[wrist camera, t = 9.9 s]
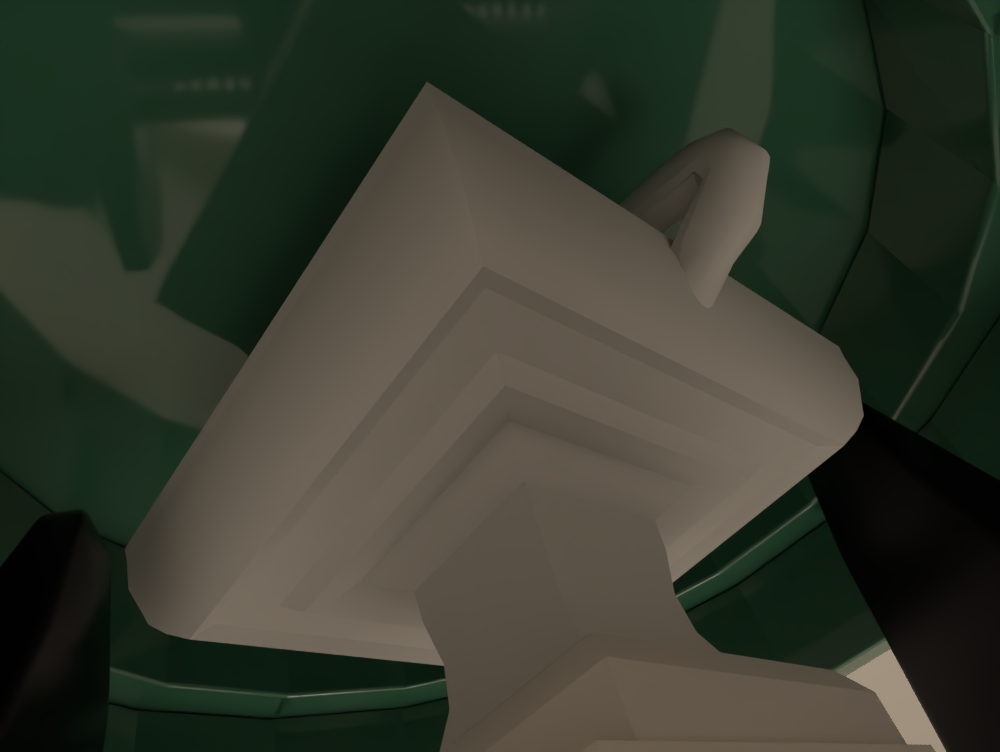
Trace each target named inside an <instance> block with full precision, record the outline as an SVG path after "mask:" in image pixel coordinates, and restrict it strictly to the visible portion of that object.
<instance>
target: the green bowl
mask: <svg viewBox="0 0 1000 752" xmlns="http://www.w3.org/2000/svg"><path fill="white" fill-rule="evenodd" d="M426 82H428V83H430V84H431V85H433V86H434V87H436V88H437V89H439V90H441V91H442V92H444V93H445V94H447V95H448V96H450V97H451V98H453V99H455V100H456V101H458V102H459V103H461V104H462V105H464V106H465V107H467V108H469V109H470V110H472V111H473V112H475V113H476V114H478V115H479V116H481V117H483V118H484V119H486V120H487V121H489V122H490V123H492V124H493V125H495V126H497V127H498V128H500V129H501V130H503V131H504V132H506V133H507V134H509V135H511V136H512V137H514V138H515V139H517V140H518V141H520V142H521V143H523V144H525V145H526V146H528V147H529V148H531V149H532V150H534V151H535V152H537V153H539V154H540V155H542V156H543V157H545V158H546V159H548V160H549V161H551V162H553V163H554V164H556V165H557V166H559V167H560V168H562V169H563V170H565V171H567V172H568V173H570V174H571V175H573V176H574V177H576V178H577V179H579V180H581V181H582V182H584V183H585V184H587V185H588V186H590V187H591V188H593V189H595V190H596V191H598V192H599V193H601V194H602V195H604V196H605V197H607V198H608V199H610V200H612V201H613V202H615V203H616V204H618V205H619V204H620V203H622V202H623V201H624V200H625V199H626V198H627V197H628V196H629V195H630V194H631V193H633V192H634V191H635V190H636V189H637V188H638V187H639V186H640V185H641V184H642V183H643V182H645V181H646V180H647V179H648V178H649V177H650V176H651V175H652V174H653V173H654V172H656V171H657V170H658V169H659V168H660V167H661V166H662V165H663V164H664V163H665V162H666V161H668V160H669V159H670V158H671V157H673V156H674V155H675V154H676V153H678V152H679V151H680V150H682V149H683V148H684V147H685V146H687V145H688V144H690V143H692V142H694V141H695V140H698V139H701V138H703V137H705V136H708V135H710V134H712V133H714V132H716V131H719V130H722V129H726V128H730V129H733V130H735V131H737V132H739V133H740V134H742V135H743V136H745V137H746V138H748V139H749V140H751V141H752V142H754V143H756V144H757V145H759V146H760V147H762V148H763V149H765V150H766V151H767V153H768V154H769V156H770V164H769V170H768V176H767V183H766V191H765V198H764V206H763V214H762V221H761V225H760V227H759V229H758V231H757V233H756V234H755V235H754V237H753V238H752V239H751V241H750V242H749V243H748V245H747V246H746V247H745V249H744V250H743V251H742V253H741V254H740V255H739V257H738V258H737V259H736V261H735V262H734V264H733V266H732V268H731V270H730V272H729V274H728V276H730V277H731V278H733V279H734V280H736V281H738V282H739V283H741V284H742V285H744V286H745V287H747V288H748V289H750V290H752V291H753V292H755V293H756V294H758V295H759V296H761V297H762V298H764V299H766V300H767V301H769V302H770V303H772V304H773V305H775V306H776V307H778V308H780V309H781V310H783V311H784V312H786V313H787V314H789V315H790V316H792V317H794V318H795V319H797V320H798V321H800V322H801V323H803V324H804V325H806V326H807V327H809V328H811V329H812V330H814V331H815V332H817V333H818V334H820V335H821V336H823V337H825V338H826V339H828V340H829V341H831V342H832V343H834V344H835V345H837V346H839V347H840V350H841V352H842V354H843V356H844V358H845V359H846V361H847V362H848V364H849V365H850V367H851V369H852V370H853V372H854V373H855V375H856V376H857V378H858V381H859V387H860V394H861V401H862V402H863V403H865V404H867V405H869V406H870V407H872V408H874V409H876V410H877V411H879V412H881V413H883V414H884V415H886V416H888V417H890V418H891V419H893V420H895V421H897V422H898V423H900V424H902V425H904V426H905V427H907V428H909V429H911V430H912V431H914V432H916V433H918V434H919V435H921V436H923V437H925V438H926V439H928V440H930V441H932V442H933V443H935V444H937V445H939V446H940V447H942V448H944V449H946V450H947V451H949V452H951V453H953V454H954V455H956V456H958V457H960V458H961V459H963V460H965V461H967V462H968V463H970V464H972V465H974V466H975V467H977V468H979V469H981V470H982V471H984V472H986V473H988V474H989V475H991V476H993V477H995V478H996V479H998V480H1000V0H0V567H1V565H2V564H3V563H4V561H5V560H6V559H7V558H8V556H9V555H10V554H11V552H12V551H13V550H14V549H15V547H16V546H17V545H18V543H19V542H20V541H21V540H22V538H23V537H24V536H25V534H26V533H27V532H28V531H29V529H30V528H31V527H32V525H33V524H34V523H35V522H36V521H37V520H38V519H39V518H40V517H42V516H43V515H45V514H49V513H55V512H62V511H68V510H75V509H82V510H84V511H86V512H87V513H88V514H89V516H90V517H91V519H92V521H93V523H94V525H95V527H96V529H97V531H98V533H99V535H100V537H101V539H102V541H103V543H104V545H105V547H106V549H107V552H108V555H109V558H110V565H111V618H110V689H109V709H108V719H107V728H106V735H105V742H104V750H103V752H440V748H441V744H442V740H443V735H444V731H445V727H446V723H447V718H448V714H449V710H450V709H449V701H448V693H447V685H446V677H445V668H444V666H442V665H432V664H422V663H413V662H403V661H393V660H384V659H374V658H364V657H355V656H345V655H335V654H326V653H316V652H306V651H297V650H287V649H277V648H268V647H258V646H248V645H239V644H229V643H219V642H210V641H200V640H190V639H186V638H181V637H177V636H173V635H169V634H165V633H163V632H162V631H160V630H158V629H156V628H154V627H152V626H150V625H149V624H148V622H147V621H146V619H145V617H144V615H143V614H142V612H141V610H140V608H139V607H138V605H137V603H136V601H135V600H134V598H133V596H132V594H131V593H130V591H129V589H128V573H127V558H126V554H125V547H126V546H127V544H128V543H129V541H130V540H131V538H132V537H133V535H134V534H135V532H136V530H137V529H138V527H139V526H140V524H141V523H142V521H143V520H144V518H145V517H146V515H147V513H148V512H149V510H150V509H151V507H152V506H153V504H154V503H155V501H156V499H157V498H158V496H159V495H160V493H161V492H162V490H163V489H164V487H165V486H166V484H167V482H168V481H169V479H170V478H171V476H172V475H173V473H174V472H175V470H176V469H177V467H178V465H179V464H180V462H181V461H182V459H183V458H184V456H185V455H186V453H187V452H188V450H189V448H190V447H191V445H192V444H193V442H194V441H195V439H196V438H197V436H198V435H199V433H200V431H201V430H202V428H203V427H204V425H205V424H206V422H207V421H208V419H209V418H210V416H211V414H212V413H213V411H214V410H215V408H216V407H217V405H218V404H219V402H220V401H221V399H222V397H223V396H224V394H225V393H226V391H227V390H228V388H229V387H230V385H231V384H232V382H233V380H234V379H235V377H236V376H237V374H238V373H239V371H240V370H241V368H242V367H243V365H244V363H245V362H246V360H247V359H248V357H249V356H250V354H251V353H252V351H253V350H254V348H255V346H256V345H257V343H258V342H259V340H260V339H261V337H262V336H263V334H264V333H265V331H266V329H267V328H268V326H269V325H270V323H271V322H272V320H273V319H274V317H275V316H276V314H277V312H278V311H279V309H280V308H281V306H282V305H283V303H284V302H285V300H286V299H287V297H288V295H289V294H290V292H291V291H292V289H293V288H294V286H295V285H296V283H297V282H298V280H299V278H300V277H301V275H302V274H303V272H304V271H305V269H306V268H307V266H308V265H309V263H310V261H311V260H312V258H313V257H314V255H315V254H316V252H317V251H318V249H319V248H320V246H321V244H322V243H323V241H324V240H325V238H326V237H327V235H328V234H329V232H330V231H331V229H332V227H333V226H334V224H335V223H336V221H337V220H338V218H339V217H340V215H341V214H342V212H343V210H344V209H345V207H346V206H347V204H348V203H349V201H350V200H351V198H352V197H353V195H354V193H355V192H356V190H357V189H358V187H359V186H360V184H361V183H362V181H363V180H364V178H365V176H366V175H367V173H368V172H369V170H370V169H371V167H372V166H373V164H374V163H375V161H376V159H377V158H378V156H379V155H380V153H381V152H382V150H383V149H384V147H385V146H386V144H387V142H388V141H389V139H390V138H391V136H392V135H393V133H394V132H395V130H396V129H397V127H398V125H399V124H400V122H401V121H402V119H403V118H404V116H405V115H406V113H407V112H408V110H409V108H410V107H411V105H412V104H413V102H414V101H415V99H416V98H417V96H418V95H419V93H420V91H421V90H422V88H423V87H424V85H425V84H426ZM683 220H684V219H682V220H680V221H678V222H676V223H675V224H673V225H671V226H670V227H669V228H668V229H667V230H666V231H665V232H664V233H663V234H664V235H666V236H668V237H669V238H671V239H672V240H675V237H676V235H677V233H678V231H679V229H680V227H681V225H682V222H683ZM673 588H674V593H675V595H676V597H677V599H678V601H679V602H680V604H681V606H682V608H683V609H684V611H685V613H686V614H687V616H688V618H689V620H690V621H691V623H692V625H693V627H694V628H695V630H696V632H697V633H698V634H700V635H701V636H702V637H703V638H704V639H705V640H707V641H708V642H709V643H710V644H711V645H712V646H713V647H715V648H716V649H717V650H718V651H719V652H721V653H727V654H733V655H740V656H746V657H752V658H759V659H765V660H772V661H778V662H784V663H791V664H797V665H803V666H810V667H816V668H823V669H829V670H834V671H836V672H838V673H839V674H841V675H843V676H847V675H848V674H850V673H851V672H853V671H855V670H856V669H858V668H859V667H861V666H863V665H865V664H866V663H868V662H869V661H871V660H873V659H874V658H876V657H878V656H879V655H881V654H883V653H884V652H886V651H888V650H889V649H891V648H890V646H889V644H888V642H887V640H886V639H885V637H884V635H883V633H882V631H881V629H880V627H879V626H878V624H877V622H876V620H875V618H874V616H873V614H872V613H871V611H870V609H869V607H868V605H867V603H866V601H865V600H864V598H863V596H862V594H861V592H860V590H859V588H858V587H857V585H856V583H855V581H854V579H853V577H852V575H851V574H850V572H849V570H848V568H847V566H846V564H845V562H844V560H843V558H842V556H841V554H840V552H839V549H838V547H837V545H836V543H835V540H834V538H833V536H832V533H831V531H830V529H829V526H828V524H827V521H826V519H825V516H824V514H823V512H822V509H821V507H820V504H819V502H818V500H817V497H816V495H815V492H814V490H813V487H812V485H811V483H810V480H809V478H808V475H807V476H805V477H804V478H803V479H802V480H800V481H799V482H798V483H797V484H795V485H794V486H793V487H792V488H790V489H789V490H788V491H787V492H785V493H784V494H783V495H782V496H780V497H779V498H778V499H777V500H775V501H774V502H773V503H772V504H770V505H769V506H768V507H767V508H765V509H764V510H763V511H762V512H760V513H759V514H758V515H757V516H755V517H754V518H753V519H752V520H750V521H749V522H748V523H747V524H745V525H744V526H743V527H742V528H740V529H739V530H738V531H737V532H735V533H734V534H733V535H732V536H730V537H729V538H728V539H727V540H725V541H724V542H723V543H722V544H720V545H719V546H718V547H717V548H715V549H714V550H713V551H712V552H710V553H709V554H708V555H707V556H705V557H704V558H703V559H702V560H700V561H699V562H698V563H697V564H695V565H694V566H693V567H692V568H690V569H689V570H688V571H687V572H685V573H684V574H683V575H682V576H680V577H679V578H678V579H677V580H675V581H674V582H673Z"/></svg>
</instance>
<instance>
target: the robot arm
mask: <svg viewBox="0 0 1000 752" xmlns="http://www.w3.org/2000/svg"><path fill="white" fill-rule="evenodd" d="M862 408H863V414H864V416H863V418H862V421H861V423H860V425H859V427H858V429H857V431H856V432H855V433H854V434H853V436H852V437H851V438H850V439H849V440H848V442H847V443H846V444H845V445H844V446H843V447H842V448H840V449H839V450H838V451H837V452H835V453H834V454H833V455H832V456H830V457H829V458H828V459H827V460H825V461H824V462H823V463H822V464H820V465H819V466H818V467H817V468H815V469H814V470H813V471H812V472H810V473H809V474H808V478H809V480H810V483H811V485H812V487H813V490H814V492H815V495H816V497H817V500H818V502H819V504H820V507H821V509H822V512H823V514H824V516H825V519H826V521H827V524H828V526H829V529H830V531H831V533H832V536H833V538H834V540H835V543H836V545H837V547H838V549H839V552H840V554H841V556H842V558H843V560H844V562H845V564H846V566H847V568H848V570H849V572H850V574H851V575H852V577H853V579H854V581H855V583H856V585H857V587H858V588H859V590H860V592H861V594H862V596H863V598H864V600H865V601H866V603H867V605H868V607H869V609H870V611H871V613H872V614H873V616H874V618H875V620H876V622H877V624H878V626H879V627H880V629H881V631H882V633H883V635H884V637H885V639H886V640H887V642H888V644H889V646H890V648H891V650H892V652H893V653H894V655H895V657H896V659H897V661H898V662H899V664H900V666H901V668H902V670H903V671H904V674H905V676H906V678H907V679H908V681H909V683H910V685H911V687H912V689H913V691H914V692H915V694H916V696H917V698H918V700H919V702H920V703H921V705H922V707H923V709H924V711H925V713H926V714H927V716H928V718H929V720H930V722H931V724H932V725H933V727H934V729H935V731H936V733H937V735H938V737H939V739H940V741H941V742H942V744H943V746H944V748H945V750H946V752H1000V480H998V479H996V478H995V477H993V476H991V475H989V474H988V473H986V472H984V471H982V470H981V469H979V468H977V467H975V466H974V465H972V464H970V463H968V462H967V461H965V460H963V459H961V458H960V457H958V456H956V455H954V454H953V453H951V452H949V451H947V450H946V449H944V448H942V447H940V446H939V445H937V444H935V443H933V442H932V441H930V440H928V439H926V438H925V437H923V436H921V435H919V434H918V433H916V432H914V431H912V430H911V429H909V428H907V427H905V426H904V425H902V424H900V423H898V422H897V421H895V420H893V419H891V418H890V417H888V416H886V415H884V414H883V413H881V412H879V411H877V410H876V409H874V408H872V407H870V406H869V405H867V404H865V403H863V402H862ZM110 618H111V565H110V558H109V555H108V552H107V549H106V547H105V545H104V543H103V541H102V539H101V537H100V535H99V533H98V531H97V529H96V527H95V525H94V523H93V521H92V519H91V517H90V516H89V514H88V513H87V512H86V511H84V510H82V509H75V510H68V511H62V512H55V513H49V514H45V515H43V516H42V517H40V518H39V519H38V520H37V521H36V522H35V523H34V524H33V525H32V527H31V528H30V529H29V531H28V532H27V533H26V534H25V536H24V537H23V538H22V540H21V541H20V542H19V543H18V545H17V546H16V547H15V549H14V550H13V551H12V552H11V554H10V555H9V556H8V558H7V559H6V560H5V561H4V563H3V564H2V565H1V567H0V752H103V750H104V742H105V735H106V728H107V719H108V709H109V689H110Z"/></svg>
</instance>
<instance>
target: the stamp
mask: <svg viewBox="0 0 1000 752" xmlns="http://www.w3.org/2000/svg"><path fill="white" fill-rule="evenodd" d="M769 164H770V156H769V154H768V153H767V151H766V150H765V149H763V148H762V147H760V146H759V145H757V144H756V143H754V142H752V141H751V140H749V139H748V138H746V137H745V136H743V135H742V134H740V133H739V132H737V131H735V130H733V129H730V128H726V129H722V130H719V131H716V132H714V133H712V134H710V135H708V136H705V137H703V138H701V139H698V140H695V141H694V142H692V143H690V144H688V145H687V146H685V147H684V148H683V149H682V150H680V151H679V152H678V153H676V154H675V155H674V156H673V157H671V158H670V159H669V160H668V161H666V162H665V163H664V164H663V165H662V166H661V167H660V168H659V169H658V170H657V171H656V172H654V173H653V174H652V175H651V176H650V177H649V178H648V179H647V180H646V181H645V182H643V183H642V184H641V185H640V186H639V187H638V188H637V189H636V190H635V191H634V192H633V193H631V194H630V195H629V196H628V197H627V198H626V199H625V200H624V201H623V202H622V203H620V204H619V205H618V204H616V203H615V202H613V201H612V200H610V199H608V198H607V197H605V196H604V195H602V194H601V193H599V192H598V191H596V190H595V189H593V188H591V187H590V186H588V185H587V184H585V183H584V182H582V181H581V180H579V179H577V178H576V177H574V176H573V175H571V174H570V173H568V172H567V171H565V170H563V169H562V168H560V167H559V166H557V165H556V164H554V163H553V162H551V161H549V160H548V159H546V158H545V157H543V156H542V155H540V154H539V153H537V152H535V151H534V150H532V149H531V148H529V147H528V146H526V145H525V144H523V143H521V142H520V141H518V140H517V139H515V138H514V137H512V136H511V135H509V134H507V133H506V132H504V131H503V130H501V129H500V128H498V127H497V126H495V125H493V124H492V123H490V122H489V121H487V120H486V119H484V118H483V117H481V116H479V115H478V114H476V113H475V112H473V111H472V110H470V109H469V108H467V107H465V106H464V105H462V104H461V103H459V102H458V101H456V100H455V99H453V98H451V97H450V96H448V95H447V94H445V93H444V92H442V91H441V90H439V89H437V88H436V87H434V86H433V85H431V84H430V83H428V82H426V84H425V85H424V87H423V88H422V90H421V91H420V93H419V95H418V96H417V98H416V99H415V101H414V102H413V104H412V105H411V107H410V108H409V110H408V112H407V113H406V115H405V116H404V118H403V119H402V121H401V122H400V124H399V125H398V127H397V129H396V130H395V132H394V133H393V135H392V136H391V138H390V139H389V141H388V142H387V144H386V146H385V147H384V149H383V150H382V152H381V153H380V155H379V156H378V158H377V159H376V161H375V163H374V164H373V166H372V167H371V169H370V170H369V172H368V173H367V175H366V176H365V178H364V180H363V181H362V183H361V184H360V186H359V187H358V189H357V190H356V192H355V193H354V195H353V197H352V198H351V200H350V201H349V203H348V204H347V206H346V207H345V209H344V210H343V212H342V214H341V215H340V217H339V218H338V220H337V221H336V223H335V224H334V226H333V227H332V229H331V231H330V232H329V234H328V235H327V237H326V238H325V240H324V241H323V243H322V244H321V246H320V248H319V249H318V251H317V252H316V254H315V255H314V257H313V258H312V260H311V261H310V263H309V265H308V266H307V268H306V269H305V271H304V272H303V274H302V275H301V277H300V278H299V280H298V282H297V283H296V285H295V286H294V288H293V289H292V291H291V292H290V294H289V295H288V297H287V299H286V300H285V302H284V303H283V305H282V306H281V308H280V309H279V311H278V312H277V314H276V316H275V317H274V319H273V320H272V322H271V323H270V325H269V326H268V328H267V329H266V331H265V333H264V334H263V336H262V337H261V339H260V340H259V342H258V343H257V345H256V346H255V348H254V350H253V351H252V353H251V354H250V356H249V357H248V359H247V360H246V362H245V363H244V365H243V367H242V368H241V370H240V371H239V373H238V374H237V376H236V377H235V379H234V380H233V382H232V384H231V385H230V387H229V388H228V390H227V391H226V393H225V394H224V396H223V397H222V399H221V401H220V402H219V404H218V405H217V407H216V408H215V410H214V411H213V413H212V414H211V416H210V418H209V419H208V421H207V422H206V424H205V425H204V427H203V428H202V430H201V431H200V433H199V435H198V436H197V438H196V439H195V441H194V442H193V444H192V445H191V447H190V448H189V450H188V452H187V453H186V455H185V456H184V458H183V459H182V461H181V462H180V464H179V465H178V467H177V469H176V470H175V472H174V473H173V475H172V476H171V478H170V479H169V481H168V482H167V484H166V486H165V487H164V489H163V490H162V492H161V493H160V495H159V496H158V498H157V499H156V501H155V503H154V504H153V506H152V507H151V509H150V510H149V512H148V513H147V515H146V517H145V518H144V520H143V521H142V523H141V524H140V526H139V527H138V529H137V530H136V532H135V534H134V535H133V537H132V538H131V540H130V541H129V543H128V544H127V546H126V547H125V554H126V558H127V573H128V589H129V591H130V593H131V594H132V596H133V598H134V600H135V601H136V603H137V605H138V607H139V608H140V610H141V612H142V614H143V615H144V617H145V619H146V621H147V622H148V624H149V625H150V626H152V627H154V628H156V629H158V630H160V631H162V632H163V633H165V634H169V635H173V636H177V637H181V638H186V639H190V640H200V641H210V642H219V643H229V644H239V645H248V646H258V647H268V648H277V649H287V650H297V651H306V652H316V653H326V654H335V655H345V656H355V657H364V658H374V659H384V660H393V661H403V662H413V663H422V664H432V665H442V666H444V668H445V677H446V685H447V693H448V701H449V709H450V710H449V714H448V718H447V723H446V727H445V731H444V735H443V740H442V744H441V748H440V752H935V751H934V749H933V747H932V746H931V745H907V744H906V742H905V741H904V739H903V738H902V736H901V734H900V733H899V731H898V729H897V728H896V726H895V725H894V723H893V721H892V719H891V718H890V716H889V714H888V713H887V711H886V710H885V708H884V706H883V705H882V703H881V701H880V700H879V698H878V696H877V695H876V693H875V692H874V691H872V690H870V689H868V688H866V687H864V686H862V685H860V684H858V683H856V682H855V681H853V680H851V679H849V678H847V677H845V676H843V675H841V674H839V673H838V672H836V671H834V670H829V669H823V668H816V667H810V666H803V665H797V664H791V663H784V662H778V661H772V660H765V659H759V658H752V657H746V656H740V655H733V654H727V653H721V652H719V651H718V650H717V649H716V648H715V647H713V646H712V645H711V644H710V643H709V642H708V641H707V640H705V639H704V638H703V637H702V636H701V635H700V634H698V633H697V632H696V630H695V628H694V627H693V625H692V623H691V621H690V620H689V618H688V616H687V614H686V613H685V611H684V609H683V608H682V606H681V604H680V602H679V601H678V599H677V597H676V595H675V593H674V588H673V582H674V581H675V580H677V579H678V578H679V577H680V576H682V575H683V574H684V573H685V572H687V571H688V570H689V569H690V568H692V567H693V566H694V565H695V564H697V563H698V562H699V561H700V560H702V559H703V558H704V557H705V556H707V555H708V554H709V553H710V552H712V551H713V550H714V549H715V548H717V547H718V546H719V545H720V544H722V543H723V542H724V541H725V540H727V539H728V538H729V537H730V536H732V535H733V534H734V533H735V532H737V531H738V530H739V529H740V528H742V527H743V526H744V525H745V524H747V523H748V522H749V521H750V520H752V519H753V518H754V517H755V516H757V515H758V514H759V513H760V512H762V511H763V510H764V509H765V508H767V507H768V506H769V505H770V504H772V503H773V502H774V501H775V500H777V499H778V498H779V497H780V496H782V495H783V494H784V493H785V492H787V491H788V490H789V489H790V488H792V487H793V486H794V485H795V484H797V483H798V482H799V481H800V480H802V479H803V478H804V477H805V476H807V475H808V474H809V473H810V472H812V471H813V470H814V469H815V468H817V467H818V466H819V465H820V464H822V463H823V462H824V461H825V460H827V459H828V458H829V457H830V456H832V455H833V454H834V453H835V452H837V451H838V450H839V449H840V448H842V447H843V446H844V445H845V444H846V443H847V442H848V440H849V439H850V438H851V437H852V436H853V434H854V433H855V432H856V431H857V429H858V427H859V425H860V423H861V421H862V418H863V416H864V414H863V408H862V401H861V394H860V387H859V381H858V378H857V376H856V375H855V373H854V372H853V370H852V369H851V367H850V365H849V364H848V362H847V361H846V359H845V358H844V356H843V354H842V352H841V350H840V347H839V346H837V345H835V344H834V343H832V342H831V341H829V340H828V339H826V338H825V337H823V336H821V335H820V334H818V333H817V332H815V331H814V330H812V329H811V328H809V327H807V326H806V325H804V324H803V323H801V322H800V321H798V320H797V319H795V318H794V317H792V316H790V315H789V314H787V313H786V312H784V311H783V310H781V309H780V308H778V307H776V306H775V305H773V304H772V303H770V302H769V301H767V300H766V299H764V298H762V297H761V296H759V295H758V294H756V293H755V292H753V291H752V290H750V289H748V288H747V287H745V286H744V285H742V284H741V283H739V282H738V281H736V280H734V279H733V278H731V277H730V276H728V274H729V272H730V270H731V268H732V266H733V264H734V262H735V261H736V259H737V258H738V257H739V255H740V254H741V253H742V251H743V250H744V249H745V247H746V246H747V245H748V243H749V242H750V241H751V239H752V238H753V237H754V235H755V234H756V233H757V231H758V229H759V227H760V225H761V221H762V214H763V206H764V198H765V191H766V183H767V176H768V170H769ZM682 219H684V220H683V222H682V225H681V227H680V229H679V231H678V233H677V235H676V237H675V240H672V239H671V238H669V237H668V236H666V235H664V234H663V233H664V232H665V231H666V230H667V229H668V228H669V227H670V226H671V225H673V224H675V223H676V222H678V221H680V220H682Z"/></svg>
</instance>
